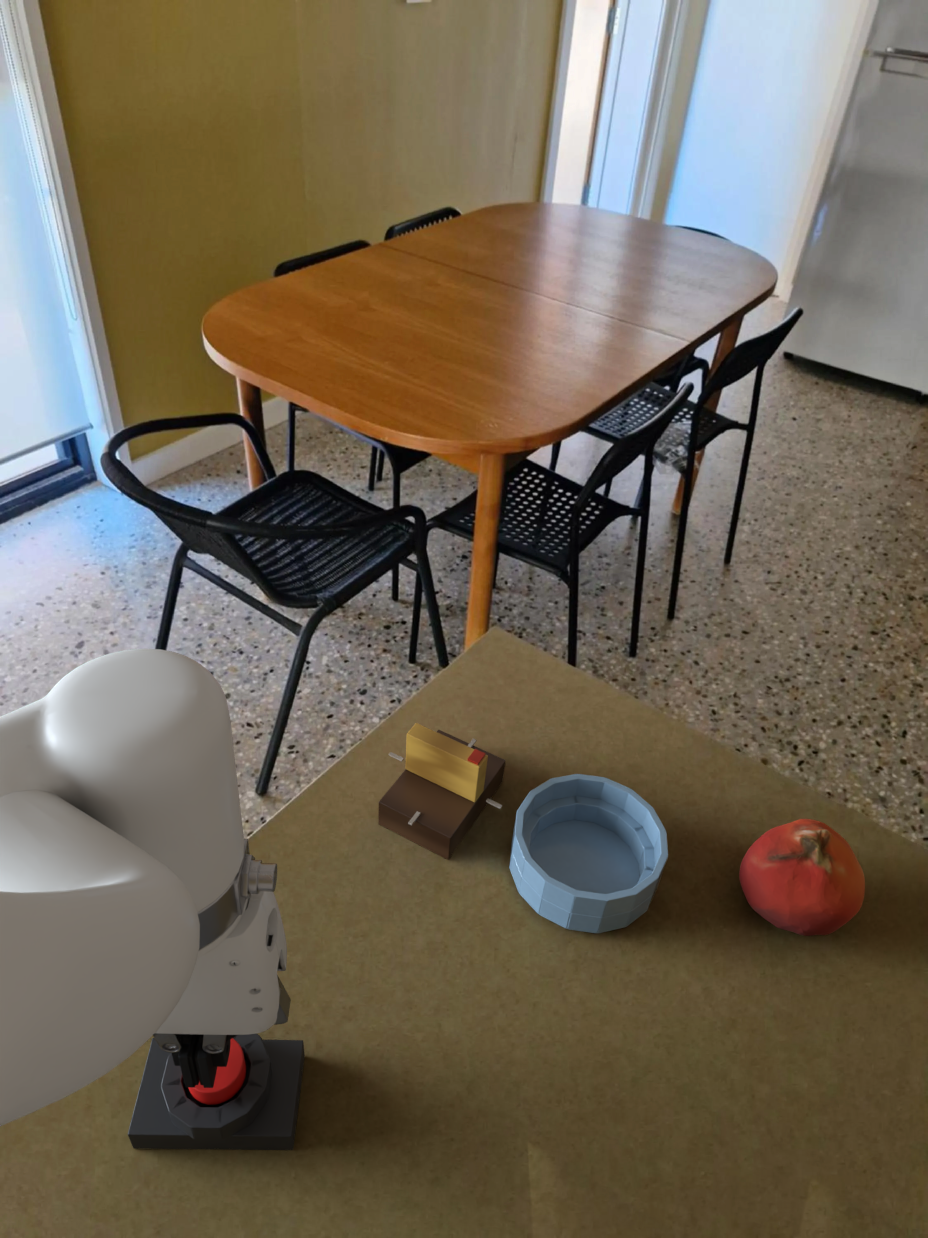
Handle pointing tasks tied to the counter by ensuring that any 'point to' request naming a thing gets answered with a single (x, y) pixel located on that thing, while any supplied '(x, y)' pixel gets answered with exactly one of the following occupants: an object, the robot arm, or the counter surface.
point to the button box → (237, 1124)
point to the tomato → (803, 878)
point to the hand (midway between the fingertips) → (205, 1062)
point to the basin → (587, 853)
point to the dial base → (436, 806)
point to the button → (224, 1079)
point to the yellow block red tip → (446, 762)
